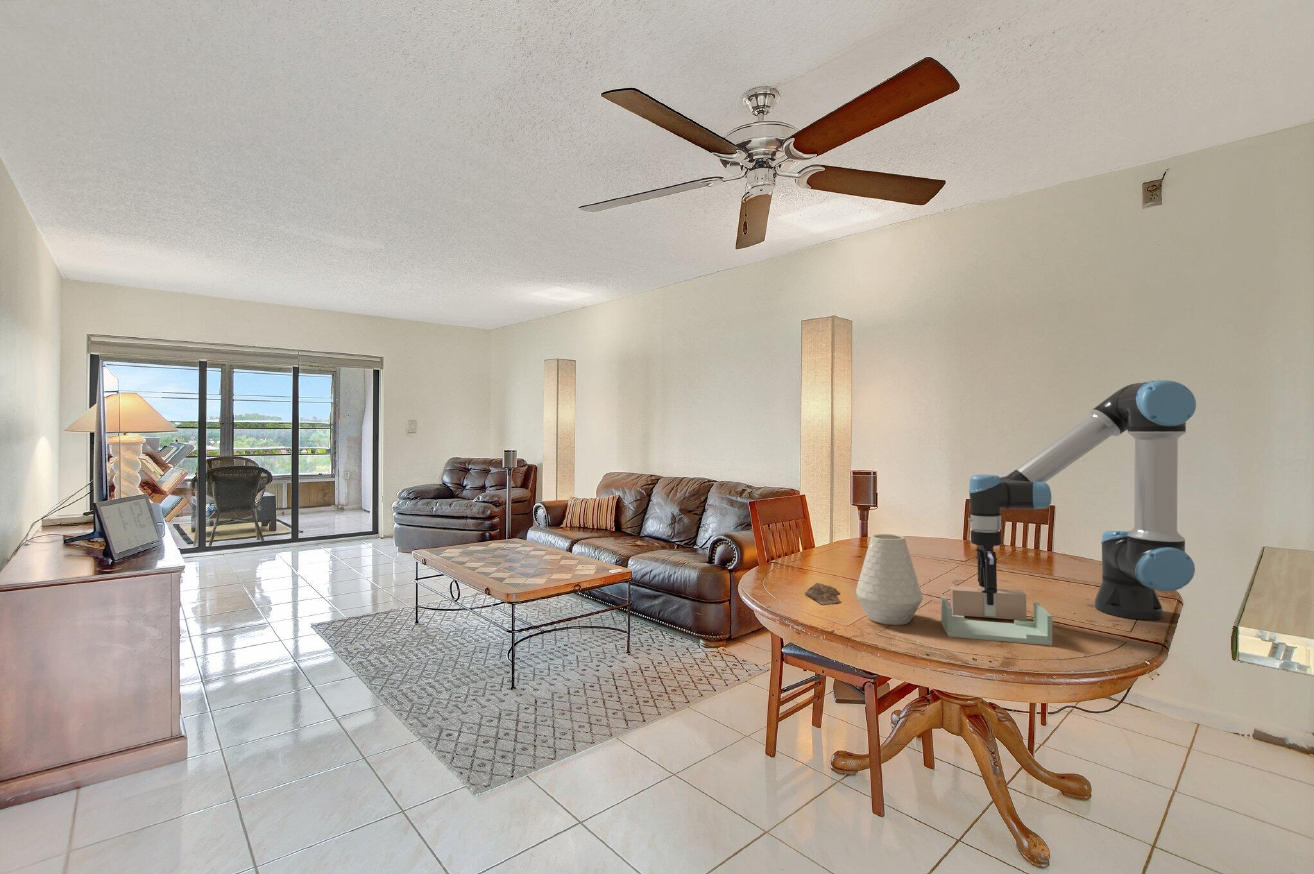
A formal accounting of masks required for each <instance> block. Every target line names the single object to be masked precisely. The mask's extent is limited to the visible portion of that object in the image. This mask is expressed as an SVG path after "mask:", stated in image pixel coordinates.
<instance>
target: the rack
mask: <svg viewBox="0 0 1314 874" xmlns="http://www.w3.org/2000/svg"><path fill="white" fill-rule="evenodd" d="M940 601H941V602H940V604H941V607H940V609H941V611H940V614H941V616H940V617H941V619H940V620H941V621H940V623H941V625H942V627H943V629H944V631H945V633H946V635H947V637H951V638H962V639H972V640H973V639H974V640H982V641H995V642H1006V643H1008V642H1009V643H1016V644H1018V643H1019V644H1027V645H1028V644H1029V645H1030V644H1031V645H1039V646H1040V645H1042V646H1053V615H1052V614H1051V613H1049V612H1048V611H1047V610H1046V609H1045V608H1044V607H1043V606H1042V605H1041V604H1040V603H1039V602H1035V601H1034V602H1033V620H1014V619H1013V623H1009V622H1001V621H1000V622H998V621H997V622H995V621H984V620H971V619H965V616H961V615H953V614H952V608H951V603H950V602H949V600H948V599H947V597H946V596H945V595H944V596H943V595H941V596H940Z"/></svg>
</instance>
